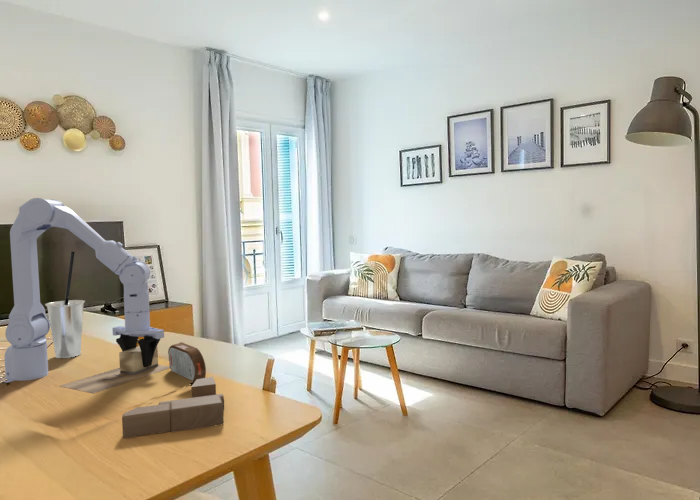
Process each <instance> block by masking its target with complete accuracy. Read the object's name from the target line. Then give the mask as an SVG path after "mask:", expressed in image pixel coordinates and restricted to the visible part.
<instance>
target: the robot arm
mask: <svg viewBox="0 0 700 500" xmlns="http://www.w3.org/2000/svg"><path fill="white" fill-rule="evenodd" d="M18 209H19V210H18V211H19V212H18V214H17V216H16V219H15V220H14V222H13V224H12V226H11V227H10V230H9V242H10V254H11V255H10V256H11V257H10V259H11V270H12V271H11V273H12V288H13V304H14V305H13V307H12V309H11V311H10V313H9V315H8V325H7V326H6V328H5V335H4V336H5V338H6V340H7V341H8V343H9V344H11V345H10V346H8V347H7V348H6V350H5V352H4V369H5V370H4V371H5V379H8V380H7V381H5V382H4V383H11V382H14V381H19V382H20V381H21V382H22V381H31V380H38V379H42V378H44V377H47V376H48V375H49V360H48V358H49V357H48V342H47V337H46V336H47V334H48V333H49V332H50V331H51V327H50V321H49V317H47V314H46V309H45V307H44V305H43V304H42V303H41V293H40V275H39V274H40V273H39V259H38V258H39V257H38V242H37V241H38V240H37V239H38V238H39V237H40V236H41V235H43V234H44V232H46V231H47V230H49V229H50V228H53V227H54V228H61V229H67V230H68V231H70V232H71V233H72V234H73V235H75V236H76V237H77V238H78V239H80V240H81V241H82V242H84V243H85V244H86V245H88V247H90V248H92V249H93V250H94V251H95V258H96V260H98V261H99V262H100V263H102V264H103V265H104V266H105V267H107V268H108V269H109V270H111V272H112V273H114V274H115V275H117V276H118V278H119V282H121V284H122V285H123V308H124V326H121V325H120V326H114V327H112V336H119V337H118V338H116V339H115V342H116V344H117V345H118V346H119V348H120V349H121V352H123V351H126V350H129V349H132V348H136V347H139V346H140V349H141V353H142V363H143V367H149V366H151V365H152V360H153V356H154V352H155V349H156V347H157V348H158V345H159V342H160V341H161V339H163V338H165V329H161V328H156V327H151V320H150V319H151V315H150V314H151V313H150V293H149V283H148V280H149V278H150V276H151V270H150V268H149V266H148V265H147V264H146V263H145V262H144V261H142V260H141V261H140V260H139V257H138V256H136V255H132V254H131V253H130V252H128V251H127V250H126V249H125V248H124V247H123V246H124V244H123V243H121V241H118V242H117V241H115V240H106V239H105V238H103V237H102V236H101V235H100V234H99V233H98V232H97V231H96V230H95V229H94V228H93V227H91V226H90V225H89V224H88V223H87V222H86V221H85V220H84V219H82V218H81V217H80V216H79V215H78V214H77V213H76V212H75V211H74V210H73V209H72V208H70V207H68V206H66V205H65V204H64V203H63V202H61V201H60V200H58V199H54V198H53V199H51V198H50V199H47V198H46V199H45V198H42V197H41V198H40V197H34V198H31V199H29V200H28V201H26V202H24V203H23V204H22V205H20V206H19V208H18ZM139 338H140V339H139ZM137 344H138V346H137Z"/></svg>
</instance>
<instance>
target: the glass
mask: <svg viewBox="0 0 700 500" xmlns="http://www.w3.org/2000/svg"><path fill="white" fill-rule="evenodd" d="M75 254H76V252H75V251H71V252H70V259H69V266H68V274H67V276H68V277H67V282H66V289H65V290H66V291H65V299H64V300H59V301H53V302H52V301H51V302H47V303H44V306H46V308H47V313H48V315H47V316H48V320H49V322H50V333H51V336H52V341H53V349H54V355H55V359H60V358H63V359H72V358H76V357H79V356H81V355H82V353H81V351H82V333H83V320H84V319H83V318H84V306H85V305H84V303H86V300H83V299H72V300H70V292H71V284H72V278H73V270H74V269H73V268H74V261H75ZM78 355H79V356H78ZM75 356H76V357H75ZM71 357H72V358H71Z"/></svg>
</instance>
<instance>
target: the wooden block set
mask: <svg viewBox="0 0 700 500" xmlns="http://www.w3.org/2000/svg"><path fill="white" fill-rule="evenodd" d="M216 387H217V385H216V382H215V378H214V376H209V377H205V378H202V379H196V381H195V382H194V384H193V385H191V387H190V388H191V390H190V391H191V397H187V398H181V399H173V400H166V401H159V402H158V404H153V405H145V406H139V407H135V408H133V409H130V410H128V411H125V412H124V413H123V414H122V417H121V425H122V437H123V439H129V438H136V437H142V436H143V437H144V436H151V435H156V434H163V433H169V432H171V433H176V432H181V431H189V430H190V431H191V430H195V429H196V428H197V429H202V428H203V427H204V428H209V427H216V426H215V425H217V426H222V425H224V424H223V423H224V422H225V421H224V410H225V397H224V395H223V393H218V394H217V388H216ZM221 424H222V425H221ZM204 428H203V429H204Z"/></svg>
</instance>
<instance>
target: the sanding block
mask: <svg viewBox="0 0 700 500" xmlns="http://www.w3.org/2000/svg"><path fill="white" fill-rule="evenodd" d="M158 353H159V351H158V346H157V347H156V349H155V352H154V356H153V360H152V365H151V366H149V367H143V363H142V353H141V349H140V346H139V345H138V346H136V348H132V349H129V350H126V351H120V352H119V353H118V354H119V355H118V356H119V368H120V373H124V374H133V375H135V374H138V373H140V372H143V371H146V370H148V369H151V368H154V367H156V366H158V365H159V355H158Z"/></svg>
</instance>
